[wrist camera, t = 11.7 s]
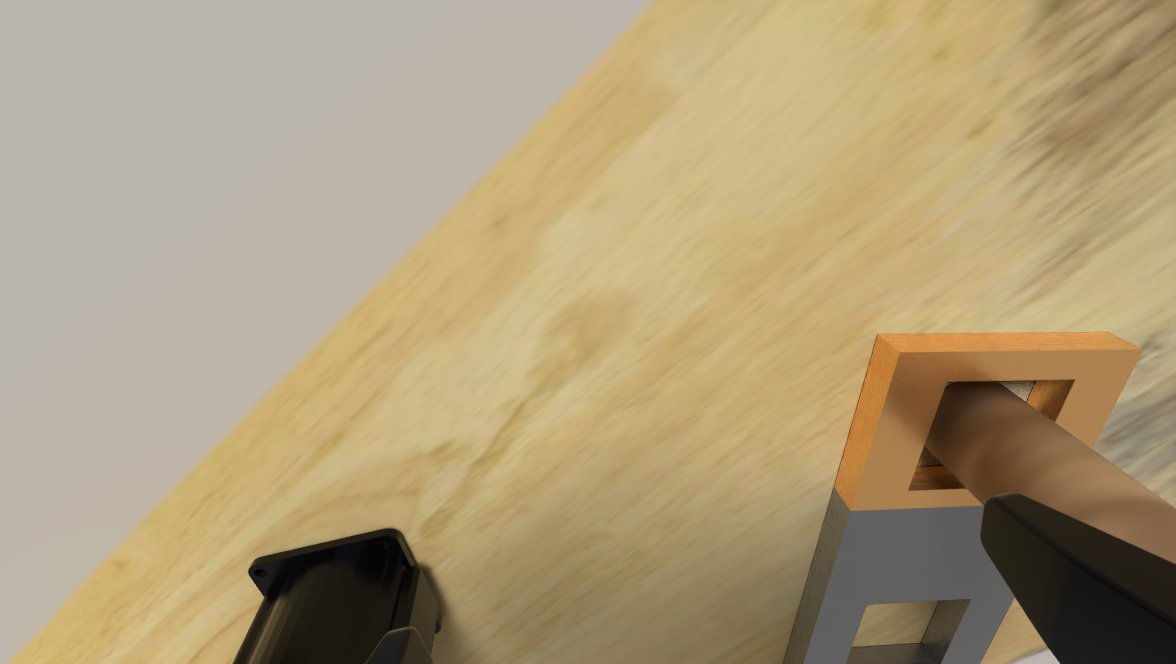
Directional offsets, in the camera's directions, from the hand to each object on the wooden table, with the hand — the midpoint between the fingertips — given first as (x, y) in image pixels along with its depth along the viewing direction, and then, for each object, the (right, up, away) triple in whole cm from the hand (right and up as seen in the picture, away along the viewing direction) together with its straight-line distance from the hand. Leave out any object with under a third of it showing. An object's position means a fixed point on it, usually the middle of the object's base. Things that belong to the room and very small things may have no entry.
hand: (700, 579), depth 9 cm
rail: (+14, -5, +19) cm, 24 cm away
